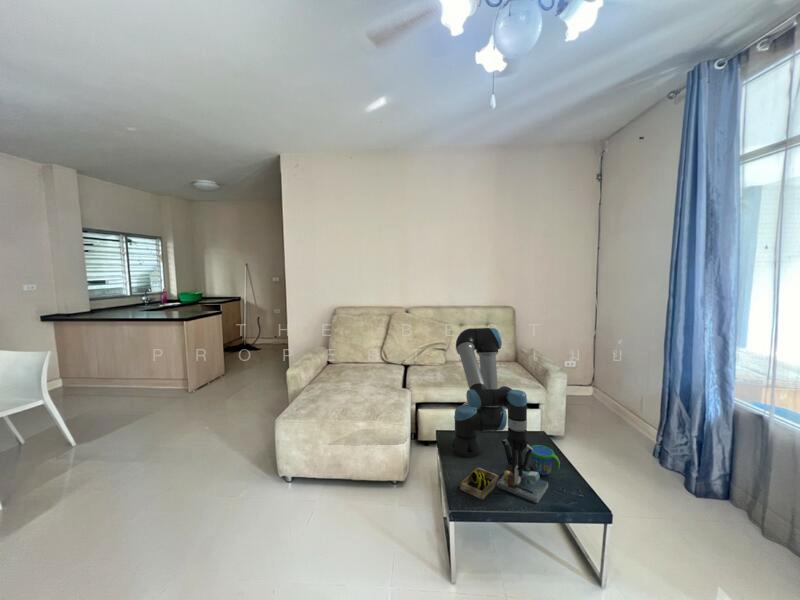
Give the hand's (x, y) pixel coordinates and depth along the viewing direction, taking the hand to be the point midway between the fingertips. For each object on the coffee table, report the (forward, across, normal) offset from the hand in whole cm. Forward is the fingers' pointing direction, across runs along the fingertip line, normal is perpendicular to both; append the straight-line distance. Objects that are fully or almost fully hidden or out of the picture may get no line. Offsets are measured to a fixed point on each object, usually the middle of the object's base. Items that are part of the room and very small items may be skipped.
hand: (517, 482), depth 138 cm
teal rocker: (-1, +2, +6) cm, 6 cm away
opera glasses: (+4, -14, -7) cm, 16 cm away
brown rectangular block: (+2, -2, 0) cm, 3 cm away
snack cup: (+4, +3, +21) cm, 22 cm away
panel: (+4, 0, +4) cm, 6 cm away
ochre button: (+2, -5, +3) cm, 6 cm away
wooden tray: (+4, -14, -7) cm, 16 cm away
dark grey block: (+2, -6, +9) cm, 11 cm away
